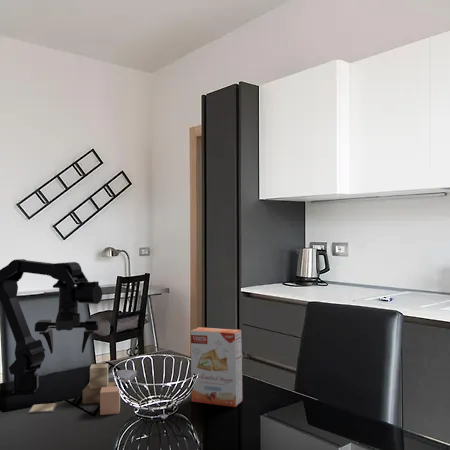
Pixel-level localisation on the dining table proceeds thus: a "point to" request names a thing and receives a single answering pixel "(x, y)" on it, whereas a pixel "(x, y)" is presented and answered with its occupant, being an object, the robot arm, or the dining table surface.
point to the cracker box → (216, 366)
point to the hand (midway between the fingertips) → (67, 353)
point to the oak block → (98, 376)
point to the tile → (42, 408)
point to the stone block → (123, 375)
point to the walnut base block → (93, 393)
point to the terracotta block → (109, 400)
